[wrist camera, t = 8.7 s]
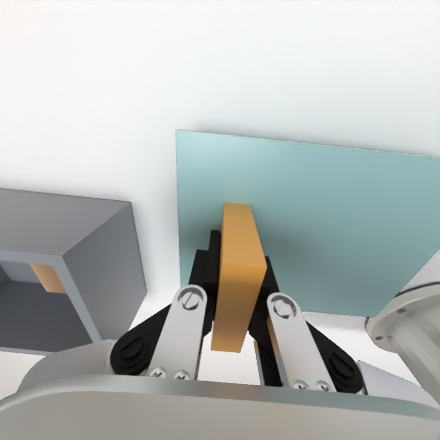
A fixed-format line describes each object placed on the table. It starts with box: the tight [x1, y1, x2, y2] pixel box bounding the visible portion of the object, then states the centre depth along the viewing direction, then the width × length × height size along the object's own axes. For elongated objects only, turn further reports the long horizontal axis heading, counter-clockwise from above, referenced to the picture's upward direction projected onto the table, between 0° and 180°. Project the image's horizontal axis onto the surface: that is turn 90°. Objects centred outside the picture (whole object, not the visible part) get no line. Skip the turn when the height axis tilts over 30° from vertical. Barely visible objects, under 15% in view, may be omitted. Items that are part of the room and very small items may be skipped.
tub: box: [0, 189, 147, 356], centre depth 15 cm, size 16×12×7 cm
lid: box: [176, 130, 440, 353], centre depth 10 cm, size 17×13×6 cm
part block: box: [29, 263, 67, 294], centre depth 16 cm, size 4×4×3 cm
